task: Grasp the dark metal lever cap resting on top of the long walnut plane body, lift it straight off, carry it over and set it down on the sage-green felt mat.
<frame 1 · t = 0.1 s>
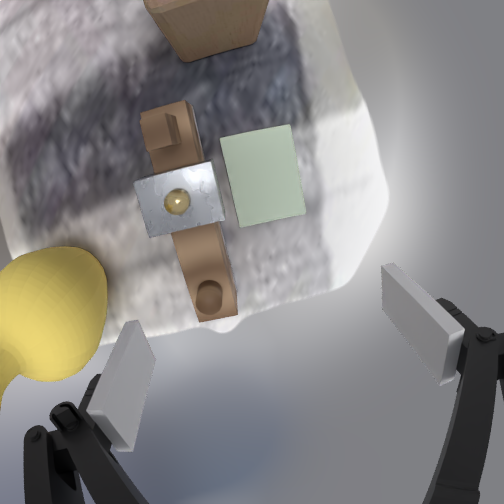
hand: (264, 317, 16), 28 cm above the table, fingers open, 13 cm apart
felt mat: (264, 175, 41), on the table
vase: (78, 277, 45), on the table
plane body: (196, 206, 42), on the table
lever cap: (183, 194, 35), point 7 cm above the table, touching plane body
wooden block: (210, 23, 34), on the table
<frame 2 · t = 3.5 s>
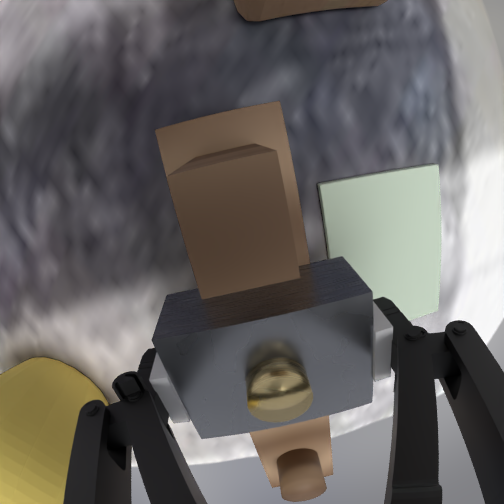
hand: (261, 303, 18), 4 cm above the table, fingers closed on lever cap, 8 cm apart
felt mat: (387, 254, 22), on the table
vase: (63, 396, 25), on the table
plane body: (264, 310, 23), on the table
lever cap: (267, 331, 15), point 7 cm above the table, touching gripper, plane body
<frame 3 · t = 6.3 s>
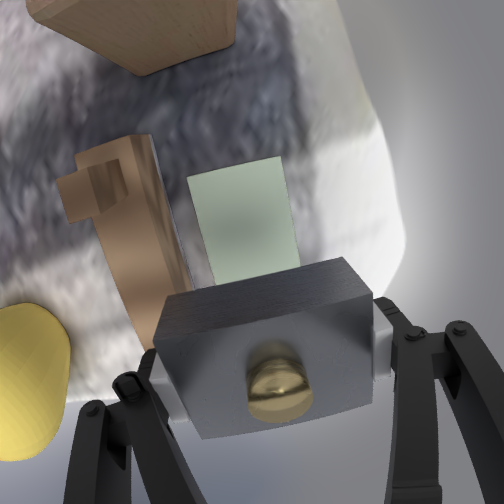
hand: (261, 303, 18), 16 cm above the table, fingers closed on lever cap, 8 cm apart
felt mat: (246, 224, 32), on the table
vase: (39, 334, 36), on the table
plane body: (161, 263, 33), on the table
lever cap: (267, 332, 15), point 18 cm above the table, touching gripper
wooden block: (173, 21, 25), on the table
when the fingers open (2 cm above the table, at t = 9.4 s): lever cap drops 4 cm, resting on felt mat.
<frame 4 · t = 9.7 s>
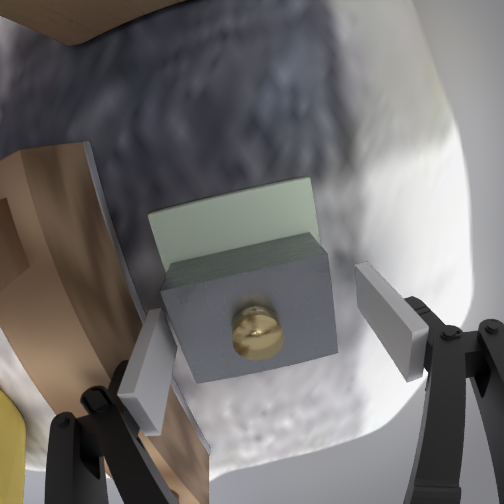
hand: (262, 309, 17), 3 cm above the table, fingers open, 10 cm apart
felt mat: (250, 289, 20), on the table
plane body: (121, 342, 20), on the table
lever cap: (250, 294, 19), point 1 cm above the table, touching felt mat
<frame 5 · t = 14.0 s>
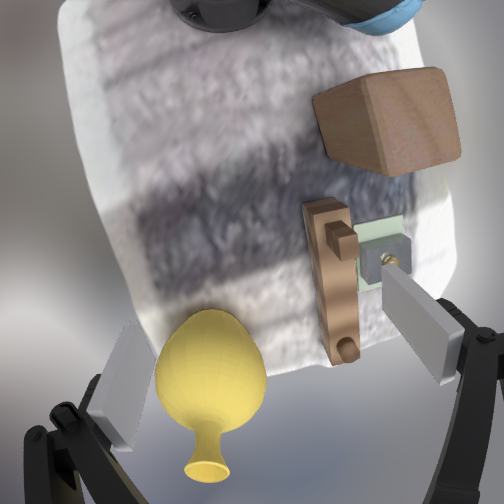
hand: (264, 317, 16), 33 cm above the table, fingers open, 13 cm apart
felt mat: (379, 253, 52), on the table
vase: (213, 333, 55), on the table
plane body: (328, 277, 53), on the table
lever cap: (381, 254, 51), point 1 cm above the table, touching felt mat
wooden block: (348, 121, 44), on the table
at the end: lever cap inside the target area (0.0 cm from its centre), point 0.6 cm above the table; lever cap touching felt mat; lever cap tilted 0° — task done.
